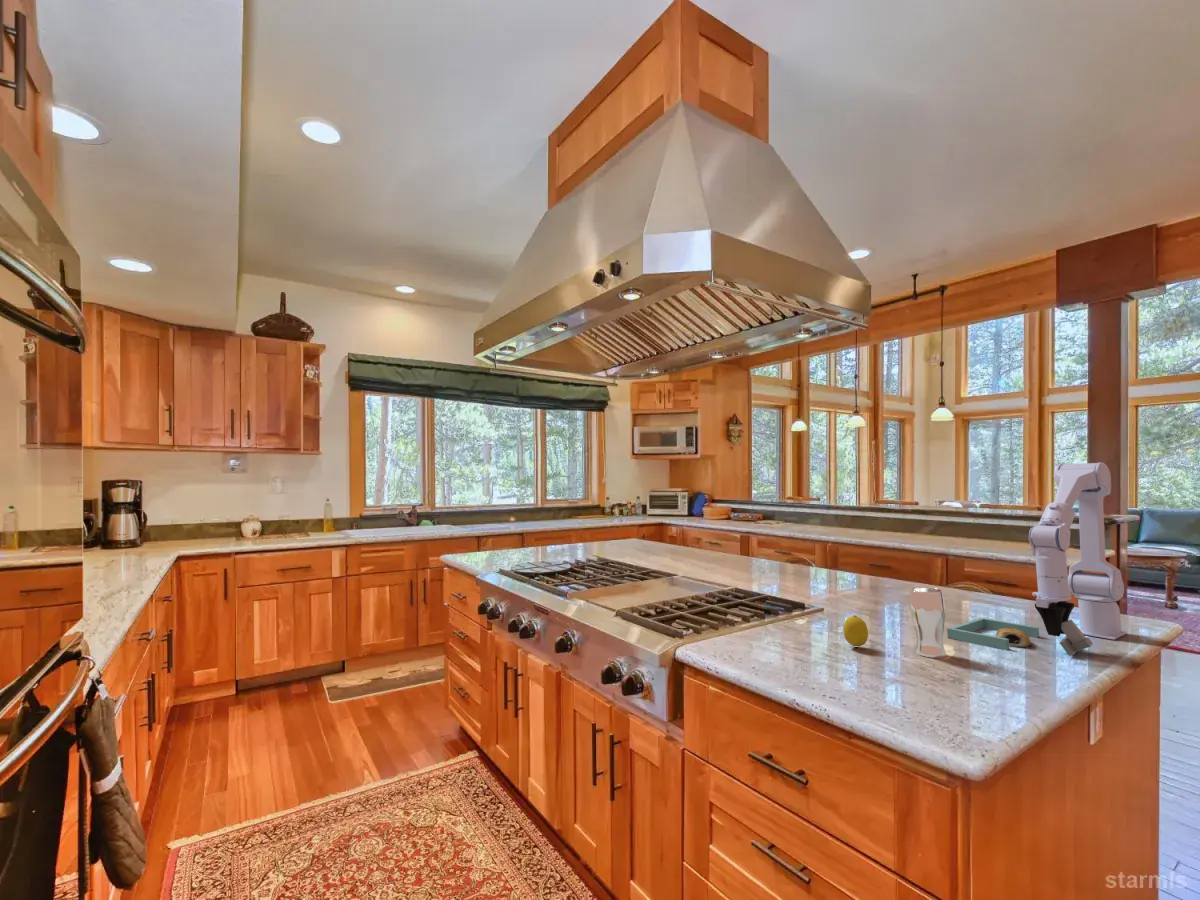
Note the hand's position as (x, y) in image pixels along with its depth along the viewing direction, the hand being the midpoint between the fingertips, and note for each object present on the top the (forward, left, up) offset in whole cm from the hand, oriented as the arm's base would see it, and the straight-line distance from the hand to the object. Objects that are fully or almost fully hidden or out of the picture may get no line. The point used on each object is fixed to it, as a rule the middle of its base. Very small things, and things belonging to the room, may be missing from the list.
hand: (1056, 634), depth 129 cm
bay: (0, -13, -4) cm, 13 cm away
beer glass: (+26, -16, -4) cm, 31 cm away
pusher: (0, +4, -2) cm, 5 cm away
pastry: (+1, -9, -4) cm, 10 cm away
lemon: (+35, -29, -4) cm, 45 cm away
